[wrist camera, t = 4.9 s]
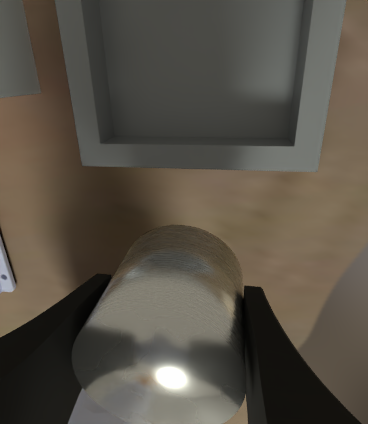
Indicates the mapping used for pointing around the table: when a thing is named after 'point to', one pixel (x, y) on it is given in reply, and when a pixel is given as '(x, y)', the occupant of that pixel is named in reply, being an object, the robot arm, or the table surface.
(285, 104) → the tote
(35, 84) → the pale upright block
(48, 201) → the table surface
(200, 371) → the metal can
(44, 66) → the table surface
